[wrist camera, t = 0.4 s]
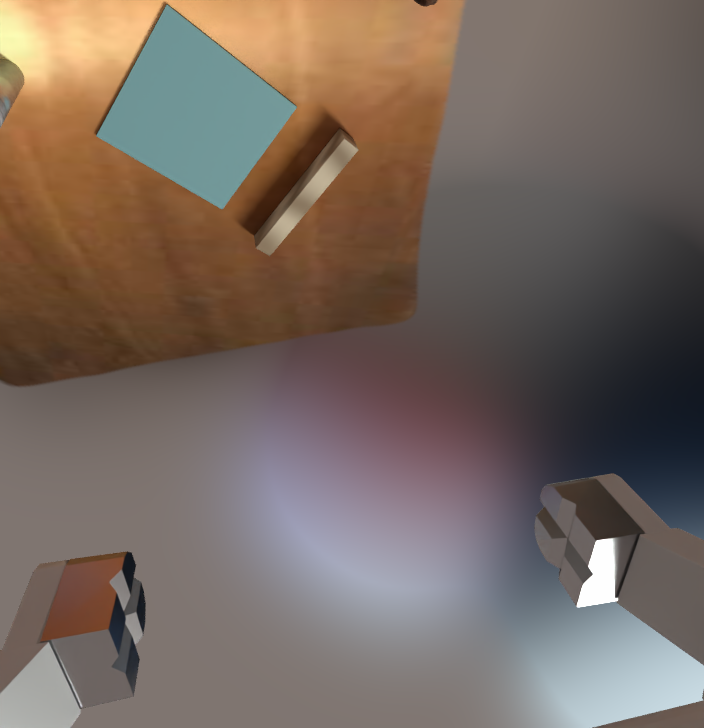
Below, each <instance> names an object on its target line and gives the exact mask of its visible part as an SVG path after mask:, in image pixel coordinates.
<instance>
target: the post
mask: <svg viewBox="0 0 704 728" xmlns="http://www.w3.org/2000/svg"><path fill="white" fill-rule="evenodd" d="M23 85H24V75H23V73H22V71H21V70H20V69H19V67H17V66H16V65H15V64H14V63H12V62H10V61H8V60H4V59H0V127H1V125H2V124H3V122H4V120H5V118H6V116H7V114H8V113H9V111H10V109H11V107H12V105H13V104H14V102H15V100H16V98H17V96H18V94H19V93H20V91H21V89H22V87H23Z"/></svg>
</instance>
